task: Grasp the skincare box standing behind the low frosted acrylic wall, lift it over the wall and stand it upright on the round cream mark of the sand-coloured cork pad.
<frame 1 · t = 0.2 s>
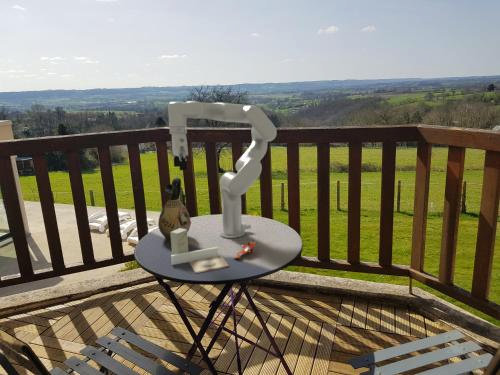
hand: (180, 168, 166), 36 cm above the table, tool pointing down, fingers open, 9 cm apart
ceramic jug: (176, 238, 181), on the table
acrylic wall: (195, 260, 155), on the table
cork pad: (208, 264, 150), on the table
skincare box: (180, 257, 159), on the table
fish: (245, 255, 161), on the table
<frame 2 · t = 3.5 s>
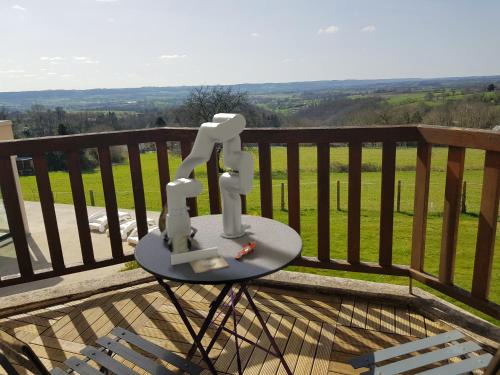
hand: (179, 249, 158), 3 cm above the table, tool pointing down, fingers closed on skincare box, 7 cm apart
skincare box: (180, 257, 159), on the table, touching gripper
everything else where it was.
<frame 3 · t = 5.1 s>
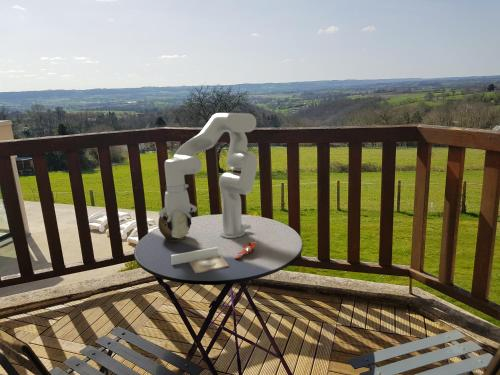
hand: (179, 227, 156), 13 cm above the table, tool pointing down, fingers closed on skincare box, 7 cm apart
skincare box: (180, 235, 157), point 10 cm above the table, touching gripper
everything else where it was.
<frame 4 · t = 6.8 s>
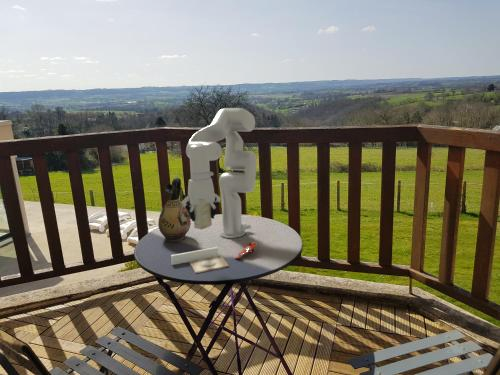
hand: (202, 218, 147), 20 cm above the table, tool pointing down, fingers closed on skincare box, 7 cm apart
skincare box: (203, 227, 148), point 16 cm above the table, touching gripper
everything else where it was.
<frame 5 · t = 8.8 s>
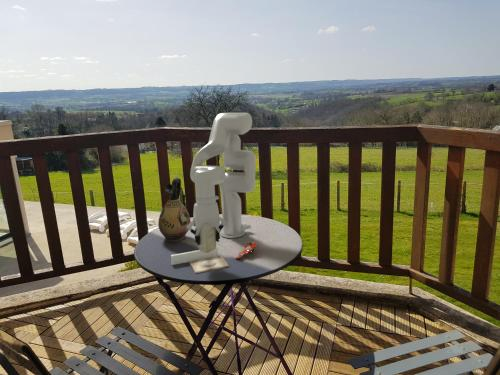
hand: (207, 242, 148), 10 cm above the table, tool pointing down, fingers closed on skincare box, 7 cm apart
skincare box: (208, 250, 149), point 7 cm above the table, touching gripper
everything else where it was.
when the fingers open (5 cm above the table, at t = 10.3 s): skincare box drops 1 cm, resting on cork pad.
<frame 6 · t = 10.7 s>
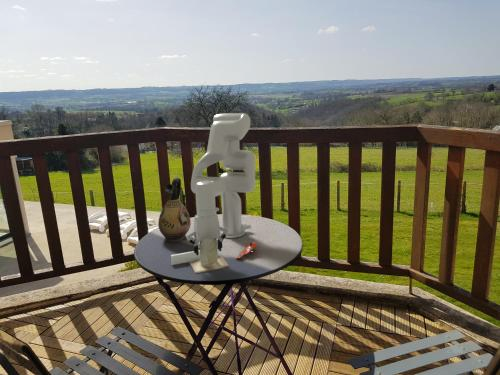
hand: (208, 251, 149), 6 cm above the table, tool pointing down, fingers open, 9 cm apart
skincare box: (209, 263, 151), point 1 cm above the table, touching cork pad
everything else where it was.
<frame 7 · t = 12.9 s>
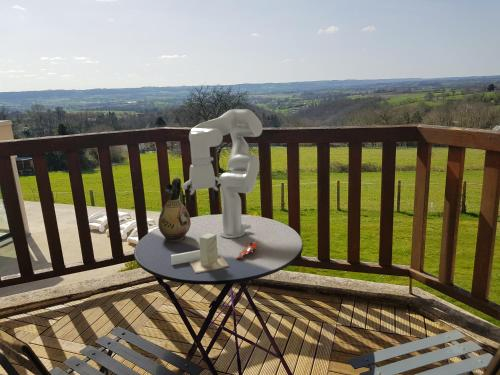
hand: (204, 201, 154), 25 cm above the table, tool pointing down, fingers open, 9 cm apart
nothing on the table moved.
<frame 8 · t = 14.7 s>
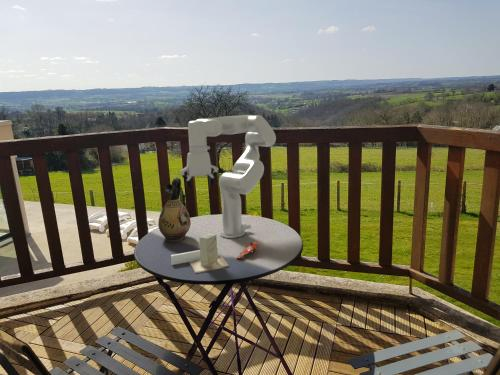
hand: (200, 187, 162), 28 cm above the table, tool pointing down, fingers open, 9 cm apart
at the end: skincare box inside the target area on the cork pad (0.2 cm from its centre), point 0.5 cm above the cork pad's base; skincare box tilted 0°; the gripper is holding nothing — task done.
